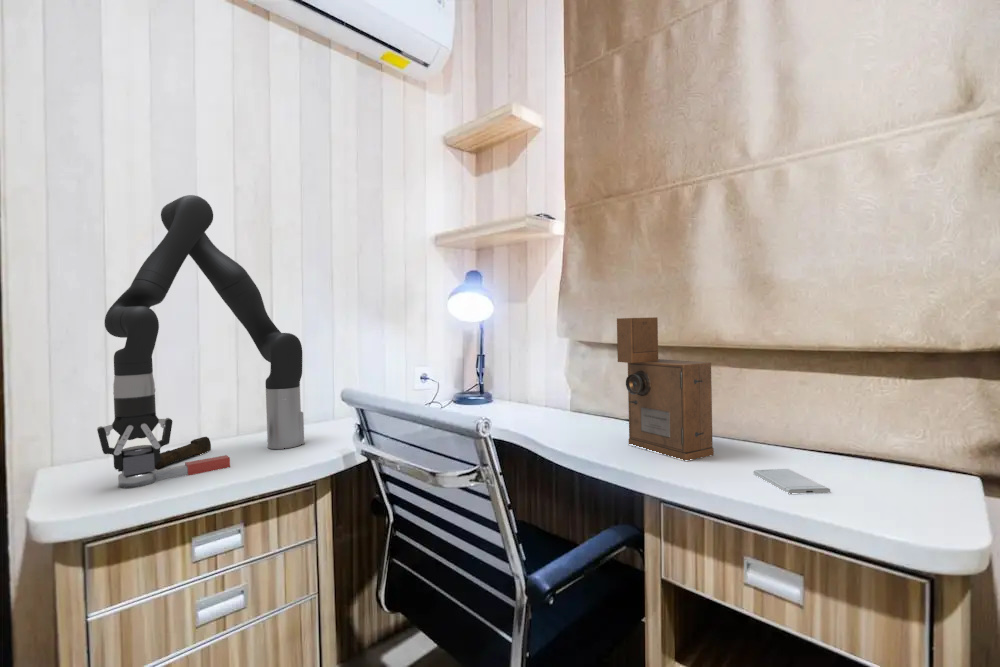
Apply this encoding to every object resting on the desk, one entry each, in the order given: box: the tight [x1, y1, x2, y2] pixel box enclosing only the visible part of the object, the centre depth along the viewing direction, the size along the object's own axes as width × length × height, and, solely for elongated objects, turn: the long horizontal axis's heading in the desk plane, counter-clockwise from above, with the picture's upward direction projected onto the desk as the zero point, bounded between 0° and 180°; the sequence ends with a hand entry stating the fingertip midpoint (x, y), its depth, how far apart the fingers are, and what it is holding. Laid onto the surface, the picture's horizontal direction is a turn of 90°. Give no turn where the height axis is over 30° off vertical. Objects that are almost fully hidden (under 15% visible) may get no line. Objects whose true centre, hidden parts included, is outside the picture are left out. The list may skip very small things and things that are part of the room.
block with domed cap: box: [121, 444, 155, 476], centre depth 111 cm, size 6×6×5 cm
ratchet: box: [117, 454, 231, 490], centre depth 116 cm, size 22×7×6 cm, turn 132°
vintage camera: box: [616, 317, 715, 461], centre depth 127 cm, size 19×14×35 cm
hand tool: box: [155, 436, 212, 470], centre depth 131 cm, size 19×4×5 cm, turn 167°
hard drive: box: [753, 468, 831, 495], centre depth 100 cm, size 2×8×12 cm
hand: (137, 467), depth 111 cm, fingers closed on block with domed cap, 5 cm apart
